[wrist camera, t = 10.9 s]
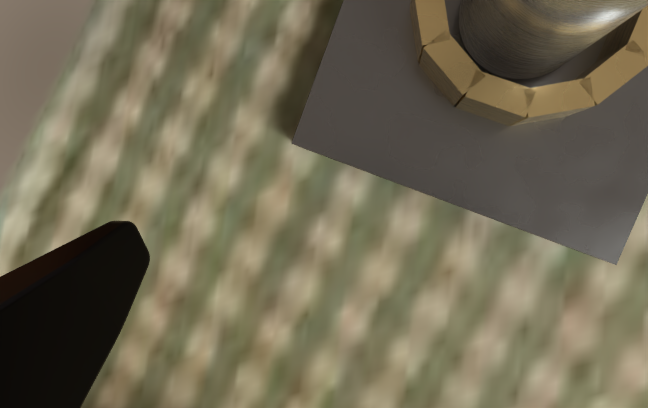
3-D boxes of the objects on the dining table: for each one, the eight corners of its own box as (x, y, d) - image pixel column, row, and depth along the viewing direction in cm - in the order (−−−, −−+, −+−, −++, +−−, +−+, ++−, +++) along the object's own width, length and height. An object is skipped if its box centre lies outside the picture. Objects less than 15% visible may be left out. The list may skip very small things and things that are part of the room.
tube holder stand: (599, 258, 20) (650, 277, 16) (298, 146, 22) (278, 137, 18) (761, -113, 19) (860, -192, 15) (426, -205, 20) (435, -298, 16)
